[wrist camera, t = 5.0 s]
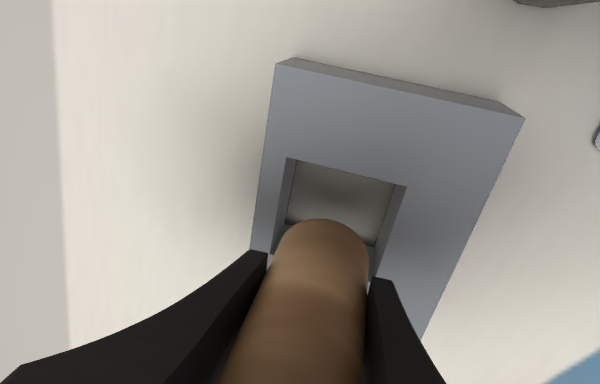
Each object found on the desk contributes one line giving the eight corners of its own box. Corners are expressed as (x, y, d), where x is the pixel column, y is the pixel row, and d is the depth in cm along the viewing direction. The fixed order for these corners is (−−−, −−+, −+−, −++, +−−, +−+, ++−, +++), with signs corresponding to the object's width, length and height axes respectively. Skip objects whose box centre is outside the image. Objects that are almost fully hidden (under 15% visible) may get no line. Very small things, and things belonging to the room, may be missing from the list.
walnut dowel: (388, 262, 13) (395, 491, 7) (324, 307, 14) (281, 526, 8) (319, 200, 12) (256, 385, 6) (260, 254, 14) (163, 444, 8)
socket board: (499, 101, 15) (525, 118, 12) (409, 310, 20) (414, 353, 18) (293, 57, 16) (275, 63, 13) (259, 268, 21) (241, 302, 19)
